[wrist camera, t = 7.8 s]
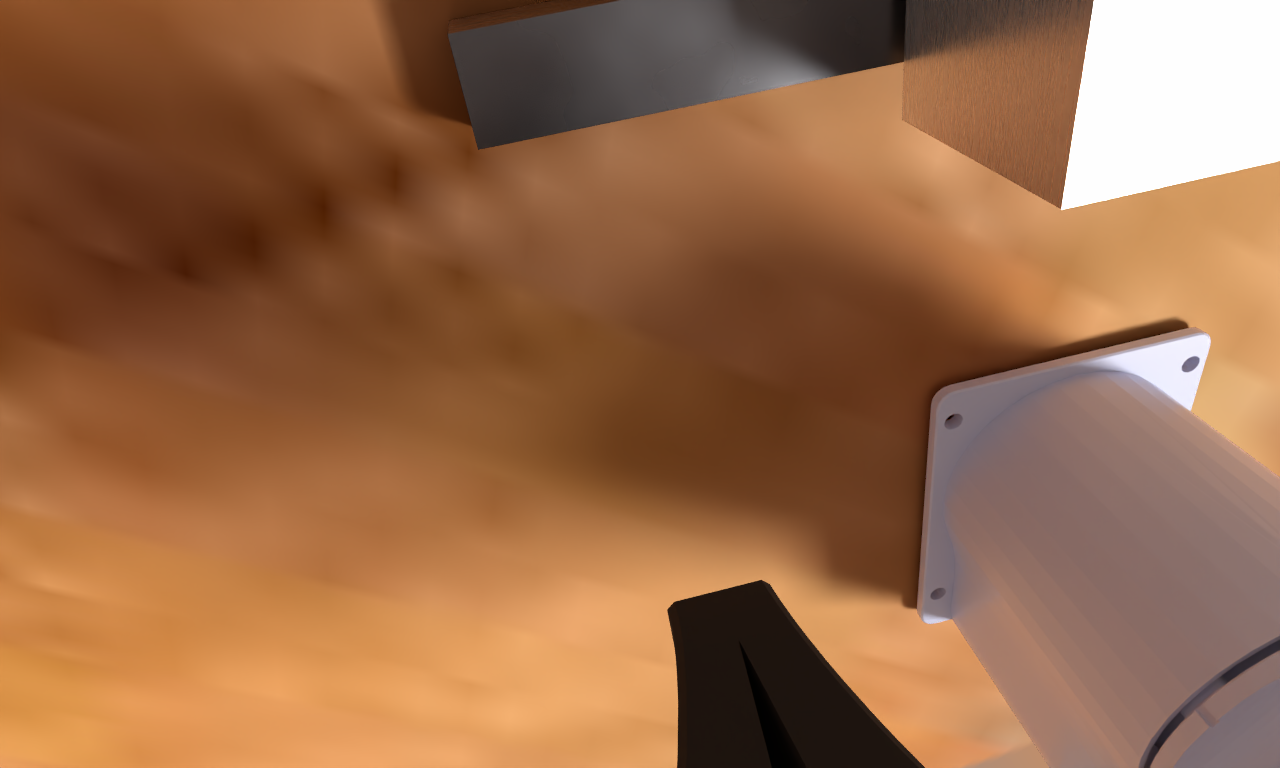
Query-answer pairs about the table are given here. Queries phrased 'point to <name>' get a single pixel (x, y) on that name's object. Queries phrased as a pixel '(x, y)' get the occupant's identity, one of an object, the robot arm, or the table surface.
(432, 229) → the table surface
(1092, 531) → the robot arm
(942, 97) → the sliding divider leg
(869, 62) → the bar
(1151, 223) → the table surface
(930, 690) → the table surface
